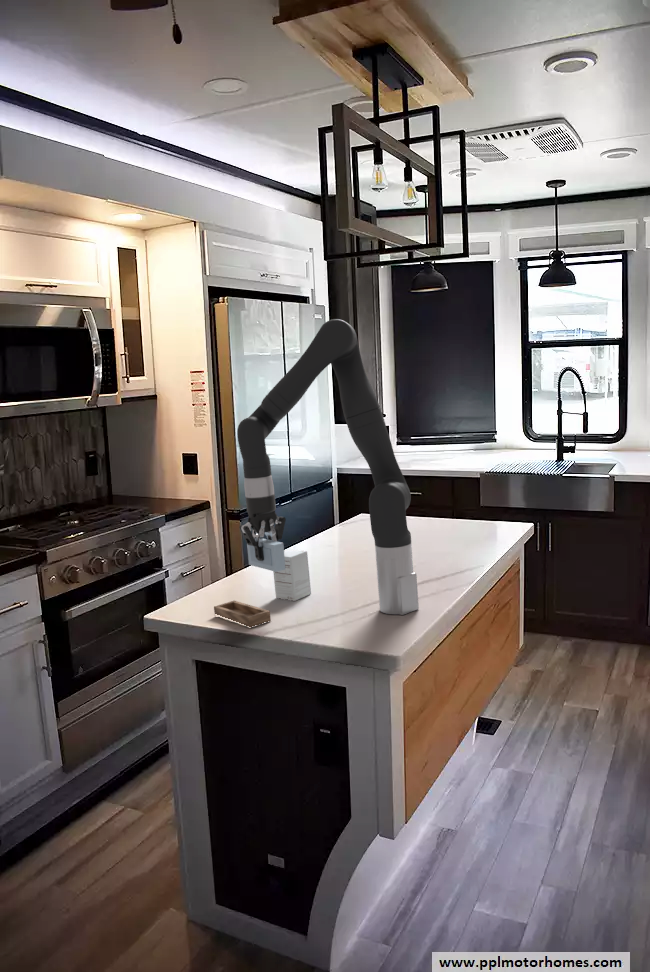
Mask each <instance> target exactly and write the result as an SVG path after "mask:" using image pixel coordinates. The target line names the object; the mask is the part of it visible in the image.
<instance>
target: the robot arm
mask: <svg viewBox="0 0 650 972" xmlns="http://www.w3.org/2000/svg"><path fill="white" fill-rule="evenodd" d="M330 364H331V366H332V369H333V371H334V374H335V377H336V380H337V385H338V389H339V396H340V402H341V403H340V404H341V408H342V411H343V416H344V419H345V422H346V425H347V429H348V431H349V435H350V436H351V439H352V440H353V443H354V445H355V446H356V448H357V450H359V452H360V454H361V455H362V457H364V460H365V461H366V463H367V464H368V468H369V470H370V473H371V476H372V480H373V483H374V488H372V490H371V491H370V495H369V498H368V509H369V510H368V511H369V520H370V521H369V522H370V528H371V534H372V536H373V540H374V549H375V563H376V565H375V566H376V576H377V577H376V579H377V590H378V602H379V611H380V612H381V613H383V614H387V615H400V616H404V615H406V614H409V613H411V612H415V611H417V610H419V609H420V607H419V592H418V590H419V589H418V580H417V578H418V576H417V573H416V572H414V565H413V564H414V563H413V547H412V535H411V532H410V530H409V529H408V523H407V522H408V521H407V514H406V513H407V512H406V511H407V509H408V508H409V506H410V504H411V500H412V499H411V498H412V496H411V491H410V488H409V486H408V484H407V480H406V479H405V476H404V474H403V472H402V471H401V467H400V466H399V464H398V460H397V458H396V456H395V451H394V449H393V448H394V447H393V445H392V440H391V438H390V435H389V432H388V428H387V425H386V421H385V417H384V415H383V412H382V409H381V406H380V403H379V401H378V398H377V395H376V393H375V391H374V388H373V386H372V384H371V382H370V380H369V377H368V375H367V373H366V370H365V368H364V364H363V359H362V356H361V352H360V347H359V341H358V336H357V333H356V330H355V328H354V327H353V326H352V325H351V324H349V323H348V322H347V321H345V320H343V319H339V318H333V319H330V320H327V321H326V322H324V323H323V324H322V325H321V326H320V328H319V329H318V332H317V333H316V334H315V336H314V338H313V339H312V341H311V342H310V344H309V346H308V347H307V348H306V350H305V351H304V353H302V355H301V356H300V358H299V359H298V360H297V361H296V363H295V364H294V365H293V366H292V367H291V368H290V369H289V371H287V372H286V374H284V376H282V378H281V379H280V380H279V381H277V383H276V384H275V385H274V386H273V387H272V388H271V390H269V392H268V393H267V394H266V395H265V397H263V399H262V401H261V403H260V405H258V407H257V408H256V409H255V410H254V411H253V412H252V413H251V414H250V416H248V417H246V418H244V419H242V420H241V421H240V422H239V424H238V426H237V431H236V434H237V435H236V436H237V442H238V447H239V451H240V455H241V458H242V466H243V467H242V468H243V477H244V478H243V479H244V487H243V488H244V495H245V504H246V512H247V514H248V519H247V522H246V523H245V524H240V525H239V531H240V532H241V535H242V536H243V538H244V540H245V542H246V545H247V544H248V545H251V546H254V548H255V557H256V559H257V560H258V561H263V560H264V554H263V547H262V541H263V539H265V538H264V537H265V536H266V538H267V539H268V540H272V541H277V542H279V541H280V540H282V539H283V535H284V531H285V530H284V529H285V526H286V525H285V524H286V519H287V518H286V517H284V516H278V515H277V513H276V510H277V506H276V496H275V495H276V494H275V486H274V481H273V477H272V468H271V467H272V466H271V460H270V459H271V458H270V456H269V455H268V453H267V447H266V439H267V438H268V436H269V435H270V434H271V433H272V432H273V431H274V430H275V428H276V427H277V426H278V424H279V423H280V421H281V420H282V419H284V417H286V415H288V413H290V411H291V410H292V409H293V408H294V407H295V406H296V405H297V404H298V402H299V401H300V400H301V399H302V397H304V395H305V394H306V392H307V391H308V389H309V388H310V387H311V385H312V384H313V382H314V381H315V379H317V377H318V376H319V375H320V374H321V373H322V372H323V371H324V370H325V369H326V368H327V367H328V366H329V365H330Z"/></svg>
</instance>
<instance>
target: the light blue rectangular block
mask: <svg viewBox="0 0 650 972" xmlns="http://www.w3.org/2000/svg"><path fill="white" fill-rule="evenodd" d="M246 547H247V559H248V565H249V566H252V567H256V568H260V569H264V570H268V571H271V572H273V571H275V572H278V571H281V570H285V557H284V550H285V547H284V542H281V541H272V540H268V539H266V538H263V541H262V547H263V554H264V560H263V561H258V560H257V559H256V557H255V548H254V546H251V545H248V544H247V543H246Z"/></svg>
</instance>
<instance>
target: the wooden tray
mask: <svg viewBox="0 0 650 972" xmlns="http://www.w3.org/2000/svg"><path fill="white" fill-rule="evenodd" d="M213 611H214V615H215V614H217V615H220V616H222V617H225V618H228V619H231V620H233V621H236V622H239V623H241V624H244V625H246V626H249V627H252V626H255V625H259V624H262V623H264V622H268V621H271V620H272V619H271V611H270V610H268V609H265V608H261V607H257V606H254V605H251V604H248V603H244V602H241V601H237V600H231V601H228V602H224V603H222V604H218V605H216V606H213ZM271 622H272V621H271ZM268 623H269V622H268ZM262 625H263V624H262ZM259 626H260V625H259Z"/></svg>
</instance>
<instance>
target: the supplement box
mask: <svg viewBox="0 0 650 972" xmlns="http://www.w3.org/2000/svg"><path fill="white" fill-rule="evenodd" d="M308 555H309V554H308V551H307V550H302V549H291V548H290V549H289V548H287V549H284V557H285V570H281V571H278V572H275V571H272V572H273V573H272V574H273V580H274V591H275V598H276V599H279V598H281V600H285V599H288V600H287V601H291V600H293V602H295V601H298V600H300V599H303V598H304V597H307V596H309V595H311V594H312V590H311V589H312V588H311V578H310V567H309V558H308V557H309V556H308Z"/></svg>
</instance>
